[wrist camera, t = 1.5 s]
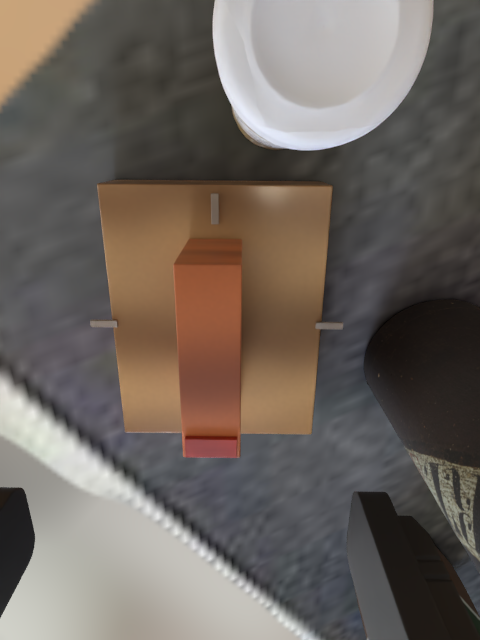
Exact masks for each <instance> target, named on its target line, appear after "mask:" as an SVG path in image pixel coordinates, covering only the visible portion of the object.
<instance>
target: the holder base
mask: <svg viewBox="0 0 480 640" xmlns="http://www.w3.org/2000/svg"><path fill="white" fill-rule="evenodd" d="M97 189H98V197H99V206H100V215H101V224H102V232H103V241H104V250H105V259H106V268H107V276H108V285H109V294H110V303H111V311H112V320H90V323H91V327H113V329H114V338H115V346H116V355H117V364H118V373H119V381H120V390H121V399H122V408H123V416H124V425H125V432H140V433H182V424H181V406H180V387H179V368H178V349H177V331H176V312H175V293H174V274H173V264H174V262H175V261H176V259H177V257H178V256H179V254H180V253H181V251H182V249H183V248H184V246H185V245H186V243H187V241H188V240H189V239H242V328H241V431H240V434H311V433H312V423H313V412H314V400H315V389H316V377H317V365H318V354H319V342H320V331H321V329H343V322H321V319H322V308H323V296H324V284H325V273H326V261H327V250H328V238H329V227H330V215H331V203H332V192H333V186H332V185H329V184H327V183H324V182H321V181H223V180H112V181H107V182H103V183H98V184H97Z"/></svg>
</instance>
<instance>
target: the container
mask: <svg viewBox="0 0 480 640" xmlns="http://www.w3.org/2000/svg"><path fill="white" fill-rule="evenodd" d="M364 371H365V376H366V380H367V384H368V385H369V386H370V388H371V390H372V392H373V393H374V395H375V397H376V399H377V400H378V402H379V404H380V405H381V407H382V409H383V411H384V412H385V414H386V416H387V417H388V419H389V421H390V423H391V424H392V426H393V428H394V430H395V431H396V433H397V435H398V437H399V438H400V440H401V441H402V443H403V445H404V446H405V448H406V451H407V452H408V453H409V455H410V457H411V458H412V460H413V462H414V464H415V465H416V467H417V469H418V470H419V472H420V474H421V475H422V477H423V478H424V480H425V482H426V484H427V485H428V487H429V489H430V491H431V492H432V494H433V496H434V498H435V499H436V501H437V504H438V505H439V507H440V508H441V510H442V512H443V514H444V515H445V517H446V519H447V520H448V522H449V523H450V525H451V527H452V529H453V530H454V532H455V534H456V535H457V537H458V539H459V541H460V542H461V543H462V545H463V547H464V548H465V550H466V552H467V553H468V555H469V557H470V559H471V560H472V562H473V564H474V565H475V567H476V569H477V570H478V572H479V574H480V307H478V306H476V305H474V304H471V303H468V302H465V301H459V300H450V299H444V300H435V301H428V302H424V303H420V304H417V305H414V306H412V307H410V308H407V309H405V310H403V311H402V312H400V313H398V314H397V315H395V316H394V317H393V318H391V319H390V320H389V321H388V322H386V323H385V324H384V325H383V326H382V327H381V328H380V329H379V331H378V332H377V333H376V335H375V336H374V337H373V339H372V341H371V342H370V344H369V347H368V349H367V351H366V354H365V359H364Z"/></svg>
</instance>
